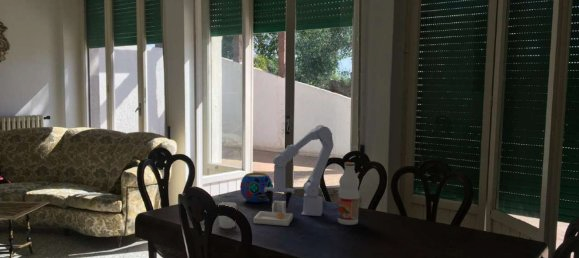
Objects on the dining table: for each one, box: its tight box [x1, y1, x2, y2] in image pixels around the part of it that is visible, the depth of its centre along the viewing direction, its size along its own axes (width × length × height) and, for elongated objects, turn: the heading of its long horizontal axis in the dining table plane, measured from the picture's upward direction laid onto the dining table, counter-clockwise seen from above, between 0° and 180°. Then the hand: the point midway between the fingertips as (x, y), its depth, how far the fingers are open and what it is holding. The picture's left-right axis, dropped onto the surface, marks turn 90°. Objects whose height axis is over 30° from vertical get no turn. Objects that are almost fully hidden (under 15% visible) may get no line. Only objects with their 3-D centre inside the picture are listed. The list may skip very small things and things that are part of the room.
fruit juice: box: [337, 161, 360, 226], centre depth 215 cm, size 9×9×28 cm
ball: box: [277, 212, 284, 219], centre depth 218 cm, size 3×3×3 cm
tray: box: [253, 210, 294, 227], centre depth 216 cm, size 16×12×2 cm
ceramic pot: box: [239, 172, 274, 203], centre depth 252 cm, size 18×18×15 cm
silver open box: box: [271, 200, 287, 213], centre depth 228 cm, size 6×6×6 cm
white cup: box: [218, 201, 237, 229], centre depth 205 cm, size 8×8×10 cm
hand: (279, 207), depth 228 cm, fingers open, 7 cm apart
